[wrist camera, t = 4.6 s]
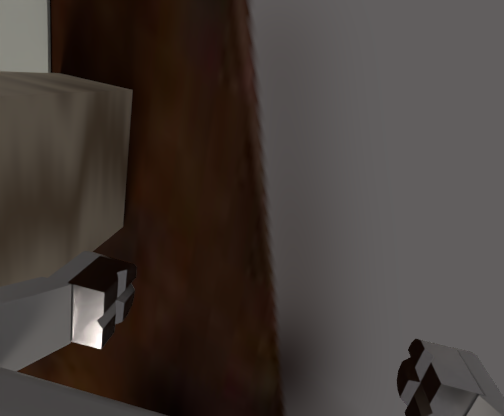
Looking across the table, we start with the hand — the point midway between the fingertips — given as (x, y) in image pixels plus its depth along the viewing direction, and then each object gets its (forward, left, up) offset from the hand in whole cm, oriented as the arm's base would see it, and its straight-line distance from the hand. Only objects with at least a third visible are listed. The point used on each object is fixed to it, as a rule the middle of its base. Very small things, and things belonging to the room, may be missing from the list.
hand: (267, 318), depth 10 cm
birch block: (0, -11, -10) cm, 15 cm away
